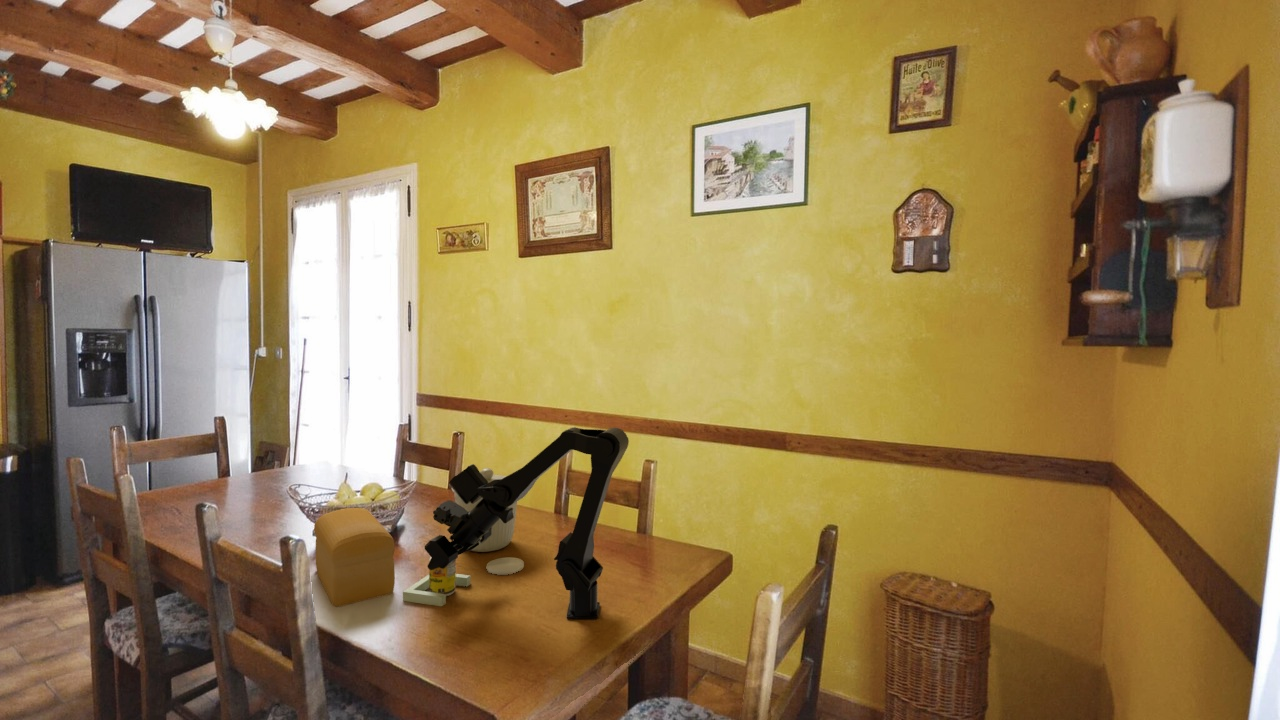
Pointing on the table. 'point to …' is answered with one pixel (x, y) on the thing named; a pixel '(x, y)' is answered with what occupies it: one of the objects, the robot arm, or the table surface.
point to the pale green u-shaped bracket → (421, 596)
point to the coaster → (505, 566)
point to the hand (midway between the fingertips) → (436, 563)
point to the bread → (354, 556)
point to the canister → (500, 530)
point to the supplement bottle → (443, 579)
